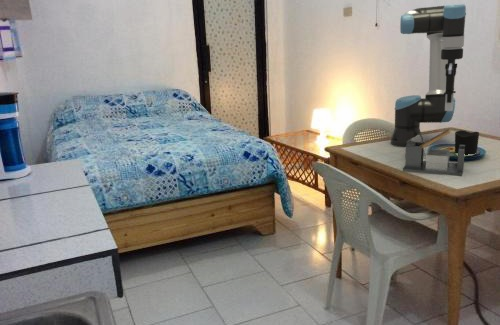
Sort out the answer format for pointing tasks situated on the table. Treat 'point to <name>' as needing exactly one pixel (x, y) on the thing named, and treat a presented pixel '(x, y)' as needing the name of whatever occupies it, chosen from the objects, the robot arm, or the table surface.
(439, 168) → the base
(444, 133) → the strap
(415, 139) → the electrical switch
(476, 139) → the pen holder
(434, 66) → the robot arm
